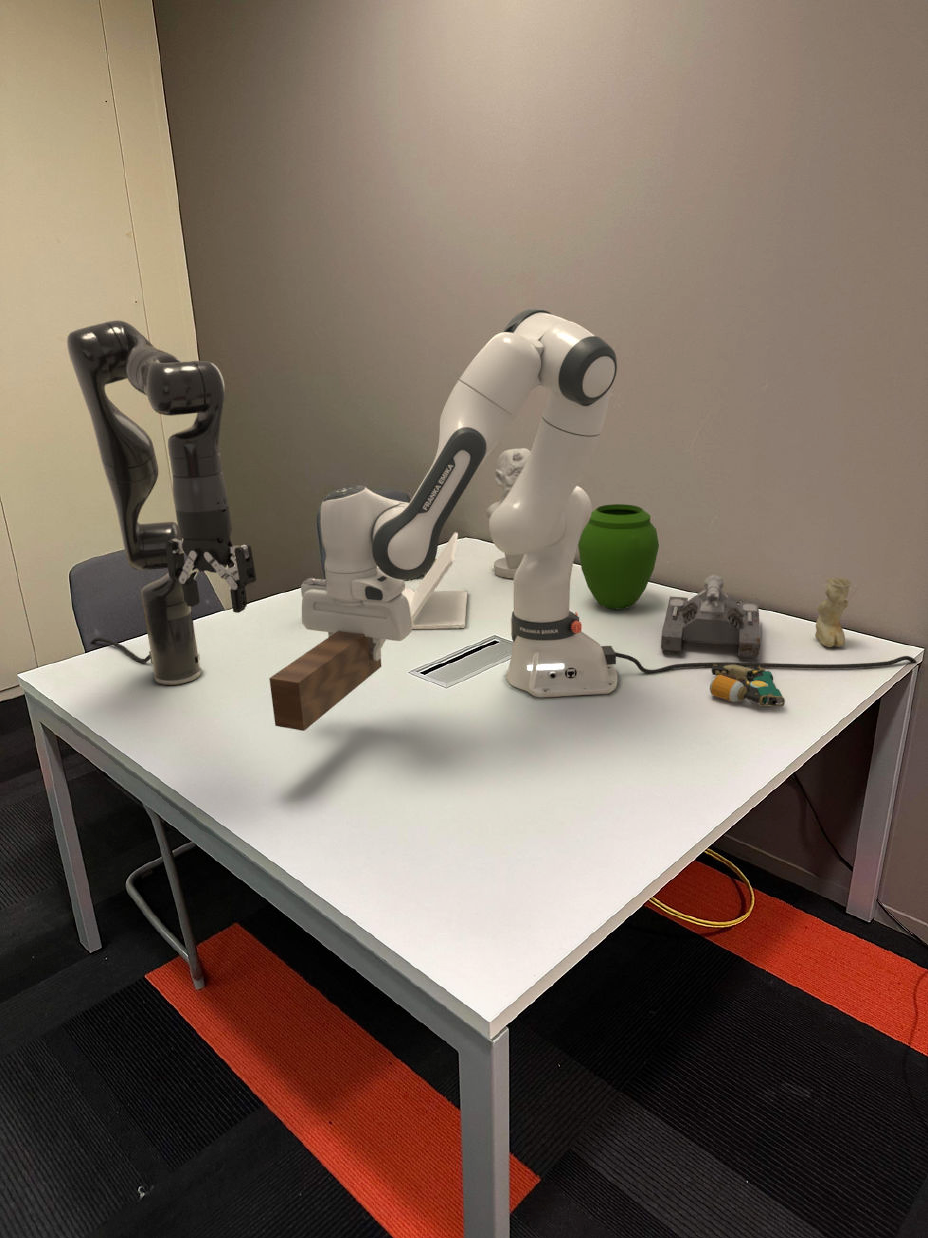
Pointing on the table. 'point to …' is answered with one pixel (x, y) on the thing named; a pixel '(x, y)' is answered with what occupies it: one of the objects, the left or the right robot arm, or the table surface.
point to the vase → (618, 554)
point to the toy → (712, 621)
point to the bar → (321, 679)
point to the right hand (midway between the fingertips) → (358, 657)
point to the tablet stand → (437, 596)
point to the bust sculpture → (505, 477)
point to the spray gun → (745, 685)
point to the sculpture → (832, 613)
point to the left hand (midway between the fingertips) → (216, 608)
